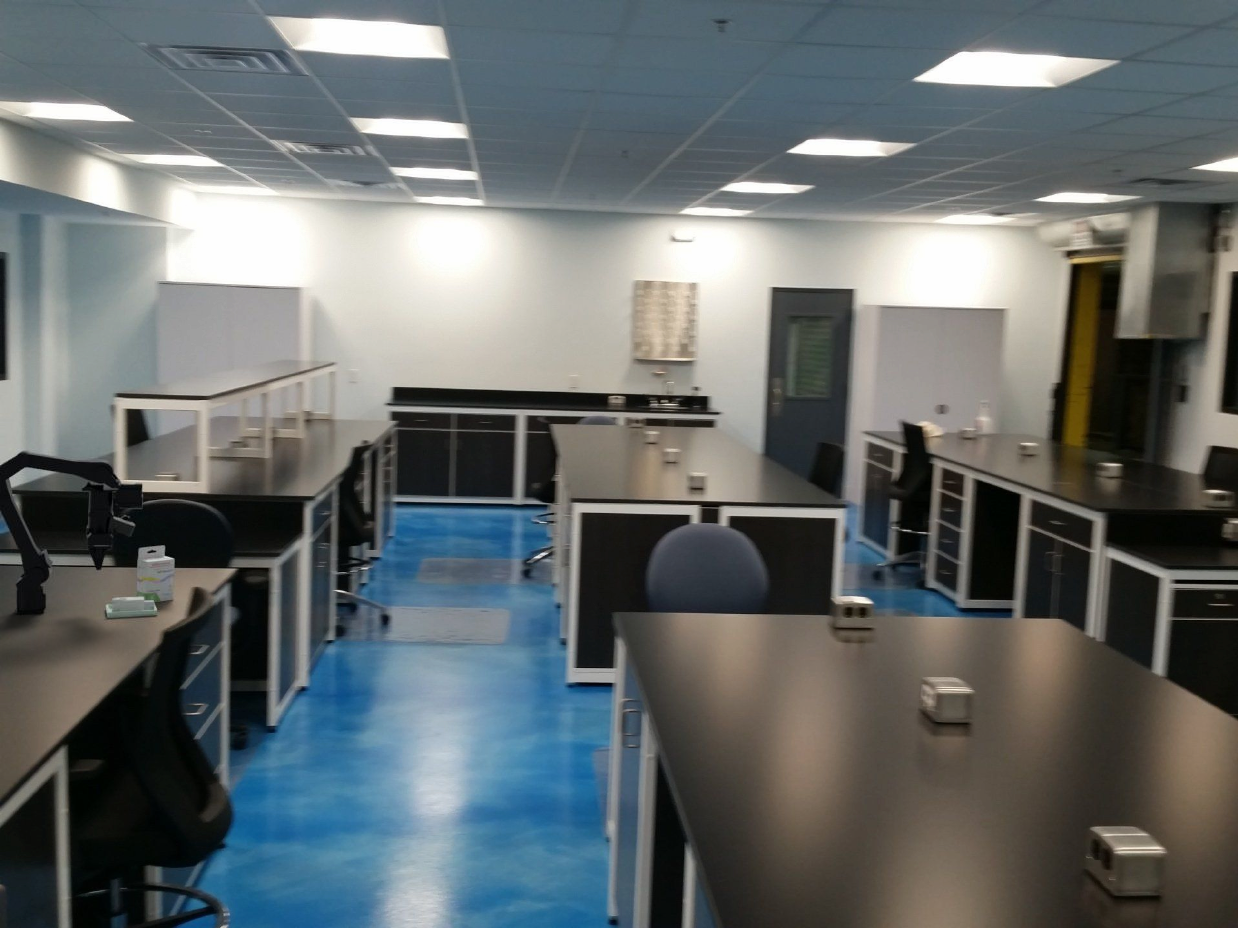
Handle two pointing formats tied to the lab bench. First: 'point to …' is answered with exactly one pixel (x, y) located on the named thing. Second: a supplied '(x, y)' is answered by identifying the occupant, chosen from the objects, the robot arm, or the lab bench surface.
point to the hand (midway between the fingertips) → (98, 566)
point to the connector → (130, 604)
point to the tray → (131, 612)
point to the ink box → (155, 574)
